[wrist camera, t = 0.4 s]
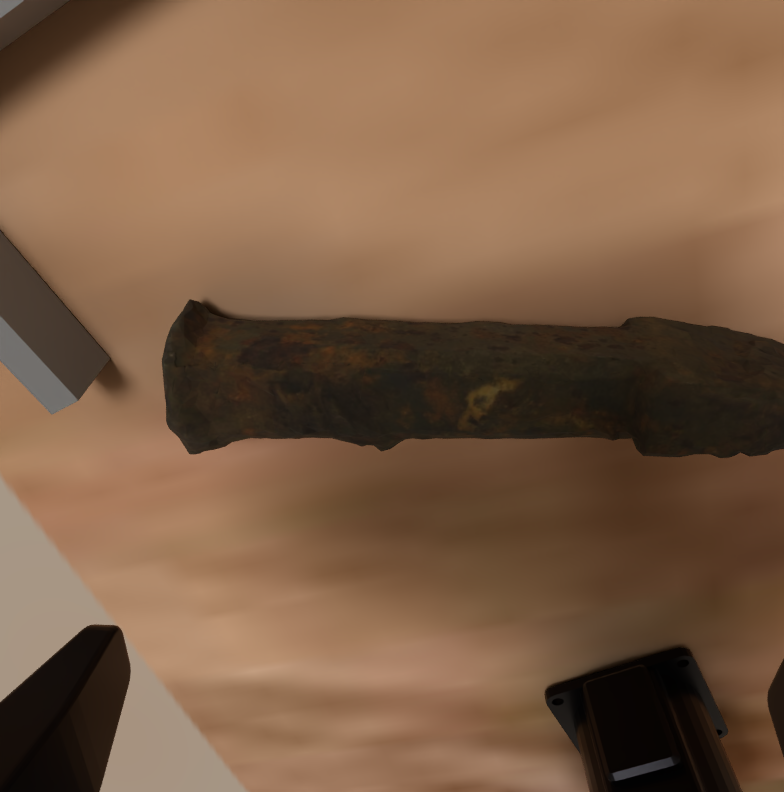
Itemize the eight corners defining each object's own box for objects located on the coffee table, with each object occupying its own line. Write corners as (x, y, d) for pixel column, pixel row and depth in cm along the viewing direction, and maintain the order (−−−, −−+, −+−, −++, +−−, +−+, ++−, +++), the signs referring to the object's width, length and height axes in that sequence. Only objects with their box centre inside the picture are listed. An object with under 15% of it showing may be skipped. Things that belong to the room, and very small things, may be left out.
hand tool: (200, 399, 22) (158, 489, 18) (185, 286, 20) (135, 361, 16) (764, 420, 23) (842, 513, 19) (808, 311, 21) (906, 390, 17)
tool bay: (888, -62, 15) (967, -69, 13) (85, 371, 22) (51, 414, 19) (814, -632, 11) (910, -773, 9) (-154, 103, 17) (-231, 120, 15)
